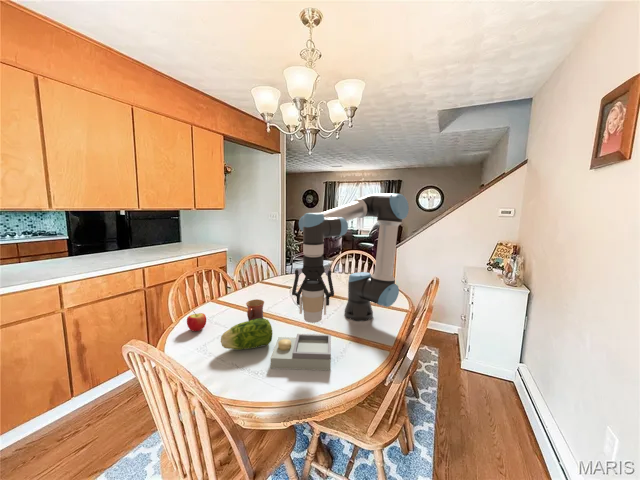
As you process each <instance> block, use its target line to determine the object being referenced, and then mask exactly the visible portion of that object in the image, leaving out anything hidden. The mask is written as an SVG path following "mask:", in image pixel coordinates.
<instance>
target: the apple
mask: <svg viewBox="0 0 640 480" xmlns="http://www.w3.org/2000/svg"><path fill="white" fill-rule="evenodd" d="M192 312H193V314H191V315H188V316H187V319H186V324H187V327H188V328H189V330H190V331H192V332H199V331H202V330H203V329H204V328H205V326H206V324H207V316H206V314H205V313H201V312H200V313H198V312H197V313H196V312H195V311H192Z"/></svg>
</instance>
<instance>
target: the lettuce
mask: <svg viewBox="0 0 640 480" xmlns="http://www.w3.org/2000/svg"><path fill="white" fill-rule="evenodd" d="M273 334H274V333H273V328H272V324H271V323H270V320H269V319H267V318H264V317H263V318H259V319H254V320H250V321H248V320H247V321H243V322H240V323H237V324H234V325H233V326H231V327H230V328H229V329H228V330H225V332H224V333H223V334H222V335H221V336H220V345H221V347H223V348H224V349H228V350H229V349H230V350H237V351H239V350H249V349H255V348H260V347H264V346H268V345H270V343H271V342H272V339H273Z"/></svg>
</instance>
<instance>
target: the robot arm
mask: <svg viewBox="0 0 640 480" xmlns="http://www.w3.org/2000/svg"><path fill="white" fill-rule="evenodd" d="M409 209H410V208H409V203H408V199H407V197H406V196H405V195H404V194H401V193H395V192H393V193H372V194H368V195H365V196H363V197H360V198H356V199H355V200H354V201H352V202H351V203H348V204H347V203H346V204H344V205H341V206H337V207H335V208H332V209H328V210H326V211H322V212H321V211H320V212H306V213H303V215H302V216H300V218H299V220H298V229H299V230H300V231H301V232H302V234H303V235H302V236H303V237H302V241H303V244H302V253H303V257H302V268H296V269H295V270H294V281H293V286H292V290H291V295H292V296H295V297H296V305H297V306H299V315H302V313H303V302H302V289H301V288H302V286H303V285H304V283H306V282H307V281H308V280H318V281H319V283H321V284H322V286H324V303H323V315H325V316H326V315H327V306H328V307H329V305H330V298H331V297H334V296H335V290H334V286H333V281H332V280H333V279H332V269H326V268H325V267H324V245H325V244H324V243H325V241H324V240H325V238H334V237H336V238H337V237H340V236H345V234H347V232H348V230H349V224H348V222H349V221H351V220H354V219H357V218H358V219H362V218H365V217H366V218H368V217H369V218H370V217H371V218H372V217H373V218H377V219H376V220H377V223H379V228H378V230H379V231H378V238H377V248H376V256H375V264H374V265H375V266H374V272H373V273H372V274H371V272H367V271H366V272H365V271H361V272H354V273H351V274H349V275H348V280H347V281H348V283H347V284H348V285H347V289H348V290H347V291H348V292H347V293H348V294H347V302H346V305H345V308H344V316H345V317H346V318H347V319H349V320H352V321H355V322H357V321H358V322H365V321H369V320H371V319H372V318H373V316H374V312H373V307H372V304H371V302H372V303H374V304H377V305H379V306H383V307H385V308H387V307H388V308H389V307H391V306H392V305H394V304H395V302H396V301H397V299H398V297H399V294H400V288H399V285H398V284H397V283H396V278H395V277H394V275H393V272H394V263H395V258H396V257H395V256H396V249H397V248H396V246H397V239H398V231H399V226H400V225H402V224H403V223H402V222H403V220H405V219H407V217H408V214H409ZM324 273H325V276H327V282H328V286H329V287H328V288H329V290H328V288H327V285H326V283H325V281H324V279H323V277H322V276H323V275H324ZM302 274H303V275H304V276H305V277H304V278H303V281H302V283H301V285H300V287H299V289H298V290H297V287H298V284H299V283H298V282H299V279H300V278H299V277H300V276H301V275H302Z"/></svg>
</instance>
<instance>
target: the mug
mask: <svg viewBox="0 0 640 480" xmlns="http://www.w3.org/2000/svg"><path fill="white" fill-rule="evenodd" d="M264 305H265V301H264V300H263V299H256V298H255V299H252V300H251V299H250V300H248V301H246V303H245V306H246V308H247V311H246V312H247V313H246V315H247V319H248V320H247V321H250V320H254V319H259V318H264Z"/></svg>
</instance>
